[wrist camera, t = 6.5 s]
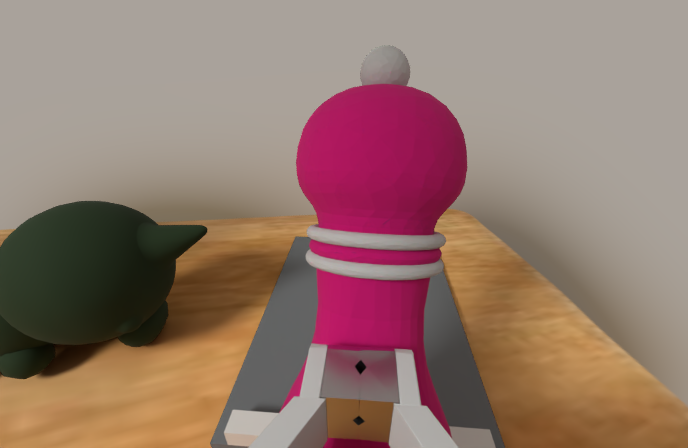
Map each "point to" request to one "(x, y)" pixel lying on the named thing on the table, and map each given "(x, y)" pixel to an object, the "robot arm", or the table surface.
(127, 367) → the table surface
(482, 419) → the grey rectangular board
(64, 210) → the toy figurine
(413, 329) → the magenta bowling pin
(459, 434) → the grey stop strip
